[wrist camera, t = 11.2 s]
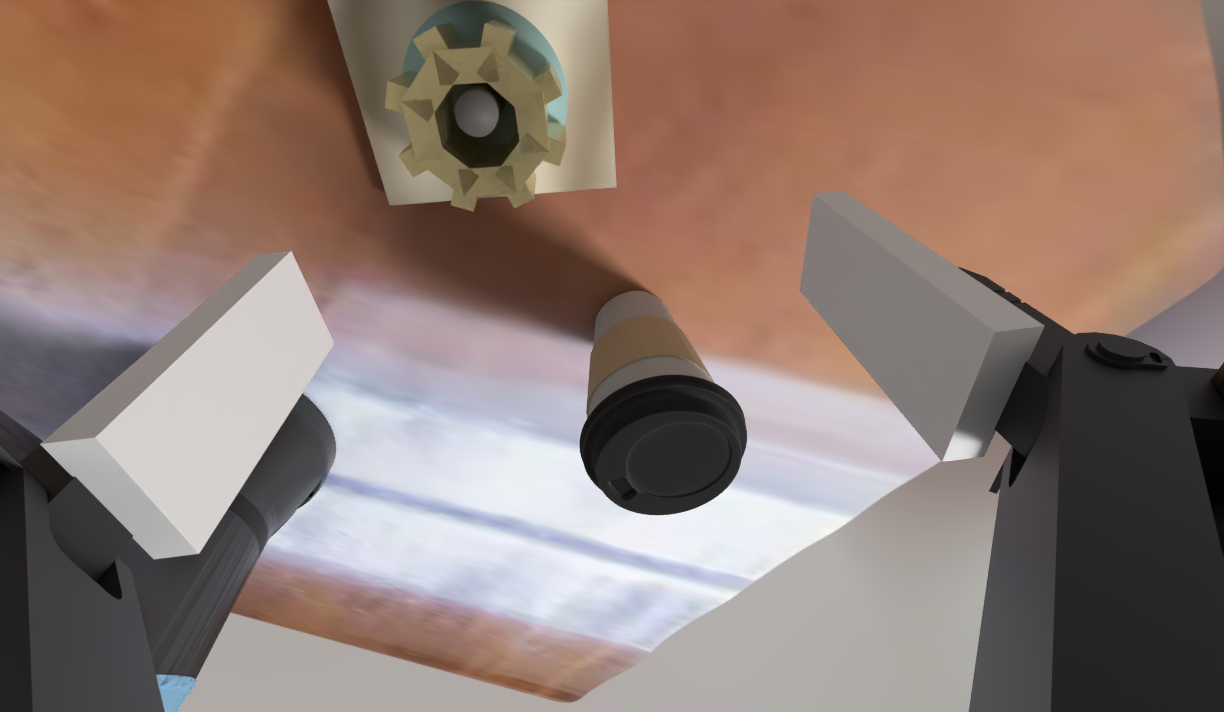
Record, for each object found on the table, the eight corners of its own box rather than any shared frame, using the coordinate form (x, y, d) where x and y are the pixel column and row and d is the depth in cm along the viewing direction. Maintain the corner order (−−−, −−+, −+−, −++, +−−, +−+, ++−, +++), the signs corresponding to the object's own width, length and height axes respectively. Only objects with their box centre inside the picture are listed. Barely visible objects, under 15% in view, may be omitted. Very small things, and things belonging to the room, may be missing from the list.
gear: (431, 189, 31) (413, 218, 27) (391, 25, 27) (361, 30, 23) (570, 179, 32) (572, 206, 28) (554, 15, 27) (554, 18, 23)
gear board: (395, 198, 33) (364, 237, 28) (256, -278, 22) (154, -372, 16) (614, 180, 34) (625, 215, 28) (590, -292, 22) (601, -387, 17)
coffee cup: (550, 343, 40) (548, 494, 28) (615, 244, 36) (647, 370, 24) (649, 389, 44) (686, 541, 32) (719, 303, 40) (793, 440, 27)
